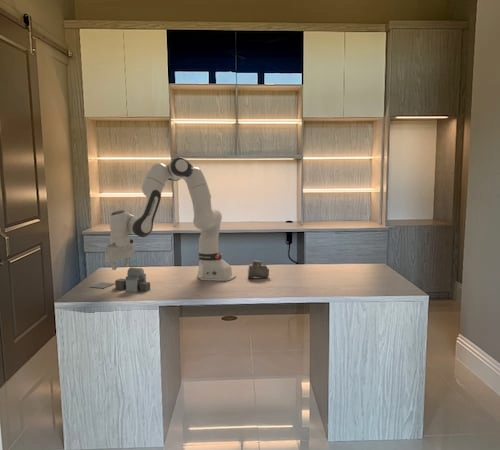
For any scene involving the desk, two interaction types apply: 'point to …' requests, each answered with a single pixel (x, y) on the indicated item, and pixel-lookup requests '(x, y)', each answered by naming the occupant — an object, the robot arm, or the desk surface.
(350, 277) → the desk surface
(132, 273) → the housing
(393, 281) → the desk surface
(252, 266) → the pipe fitting
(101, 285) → the pad
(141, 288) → the grey long block-ended bar
